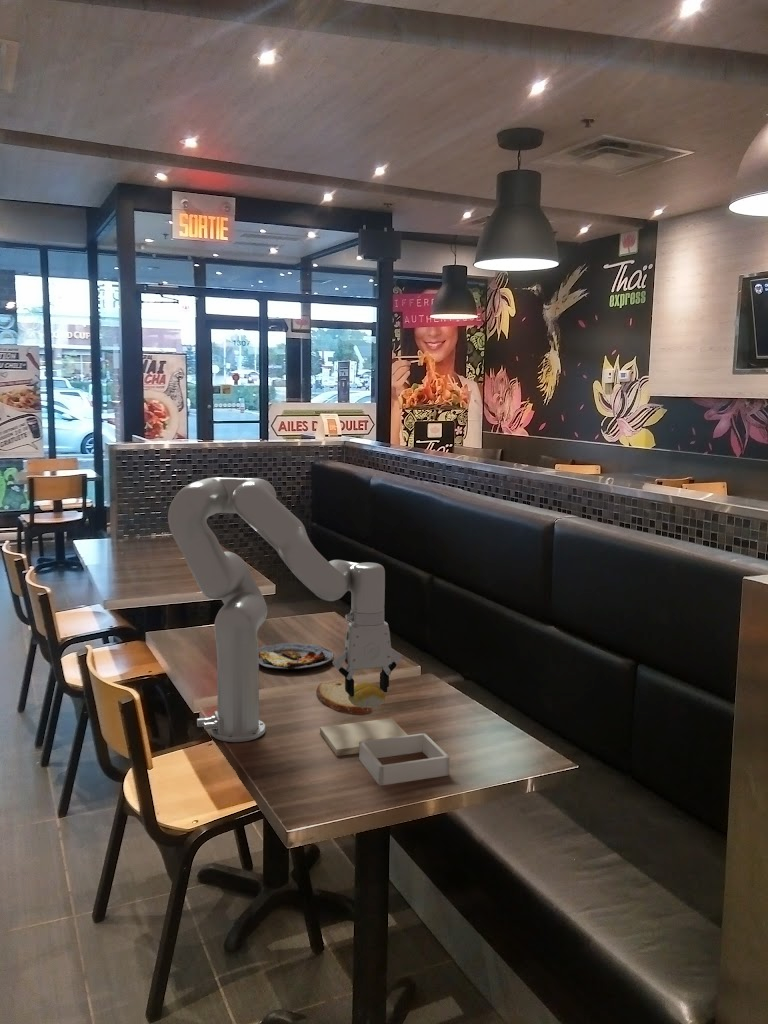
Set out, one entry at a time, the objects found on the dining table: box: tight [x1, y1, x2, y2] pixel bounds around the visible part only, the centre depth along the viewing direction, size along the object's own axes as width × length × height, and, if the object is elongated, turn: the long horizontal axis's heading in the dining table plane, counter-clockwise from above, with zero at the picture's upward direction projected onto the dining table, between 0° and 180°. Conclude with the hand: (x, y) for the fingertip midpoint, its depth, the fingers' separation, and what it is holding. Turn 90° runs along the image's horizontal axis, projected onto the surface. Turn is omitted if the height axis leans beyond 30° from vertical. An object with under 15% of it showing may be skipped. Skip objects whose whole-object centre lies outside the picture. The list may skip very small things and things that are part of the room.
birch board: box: [319, 718, 408, 757], centre depth 191 cm, size 18×13×2 cm
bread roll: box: [348, 682, 386, 709], centre depth 190 cm, size 8×9×4 cm
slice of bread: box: [315, 678, 373, 715], centre depth 217 cm, size 18×18×4 cm
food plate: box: [258, 642, 335, 670], centre depth 246 cm, size 25×23×4 cm
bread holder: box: [358, 732, 451, 787], centre depth 178 cm, size 16×13×4 cm
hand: (367, 691), depth 190 cm, fingers closed on bread roll, 7 cm apart
